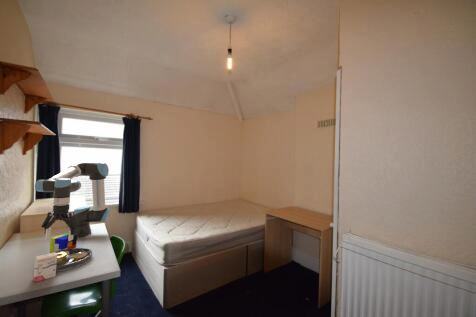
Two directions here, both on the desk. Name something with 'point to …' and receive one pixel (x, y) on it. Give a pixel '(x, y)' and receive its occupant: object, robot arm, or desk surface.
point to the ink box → (45, 266)
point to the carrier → (74, 258)
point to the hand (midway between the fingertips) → (59, 239)
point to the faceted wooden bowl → (61, 258)
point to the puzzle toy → (62, 243)
